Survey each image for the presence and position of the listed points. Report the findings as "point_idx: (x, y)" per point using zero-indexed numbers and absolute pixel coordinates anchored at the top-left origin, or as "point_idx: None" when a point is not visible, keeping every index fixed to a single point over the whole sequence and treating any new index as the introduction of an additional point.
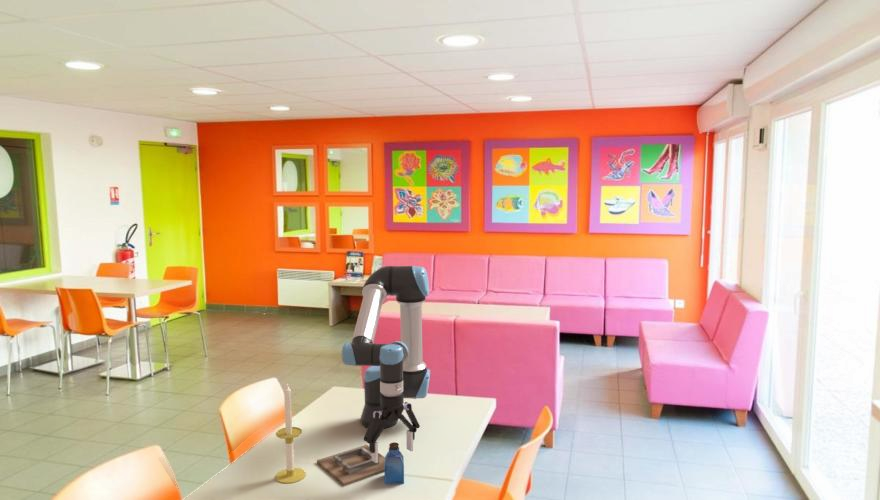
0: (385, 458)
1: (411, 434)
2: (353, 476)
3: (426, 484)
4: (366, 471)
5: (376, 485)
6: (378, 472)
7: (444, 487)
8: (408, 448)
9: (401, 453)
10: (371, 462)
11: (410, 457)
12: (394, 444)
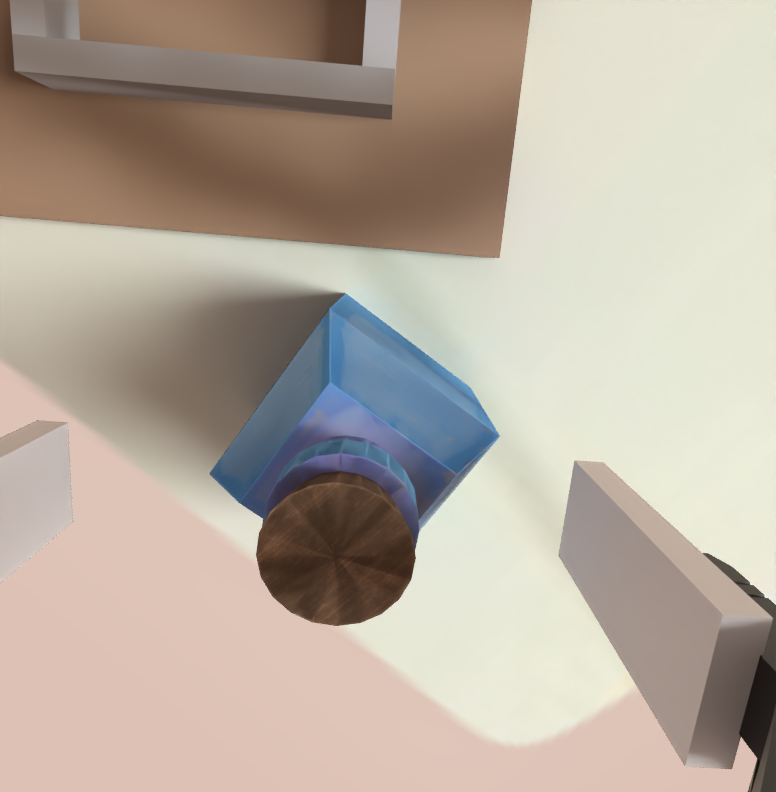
0: (294, 369)
1: (677, 733)
2: (66, 159)
3: (488, 615)
4: (213, 163)
5: (192, 385)
6: (307, 240)
7: (548, 714)
8: (575, 507)
9: (477, 455)
10: (299, 101)
11: (727, 185)
12: (345, 558)
